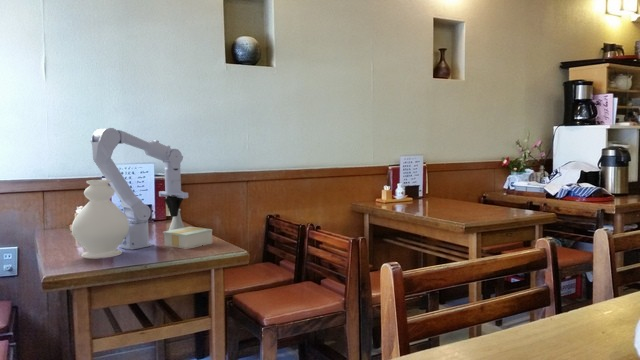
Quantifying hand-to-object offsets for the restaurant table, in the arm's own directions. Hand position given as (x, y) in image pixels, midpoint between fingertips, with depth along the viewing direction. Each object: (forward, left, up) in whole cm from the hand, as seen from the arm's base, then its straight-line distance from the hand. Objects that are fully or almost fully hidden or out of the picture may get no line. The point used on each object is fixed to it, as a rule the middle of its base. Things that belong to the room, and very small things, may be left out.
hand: (174, 216), depth 197 cm
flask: (+12, +13, -10) cm, 20 cm away
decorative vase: (-29, +2, -10) cm, 31 cm away
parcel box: (-2, -10, -9) cm, 14 cm away
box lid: (-2, -10, -5) cm, 11 cm away
